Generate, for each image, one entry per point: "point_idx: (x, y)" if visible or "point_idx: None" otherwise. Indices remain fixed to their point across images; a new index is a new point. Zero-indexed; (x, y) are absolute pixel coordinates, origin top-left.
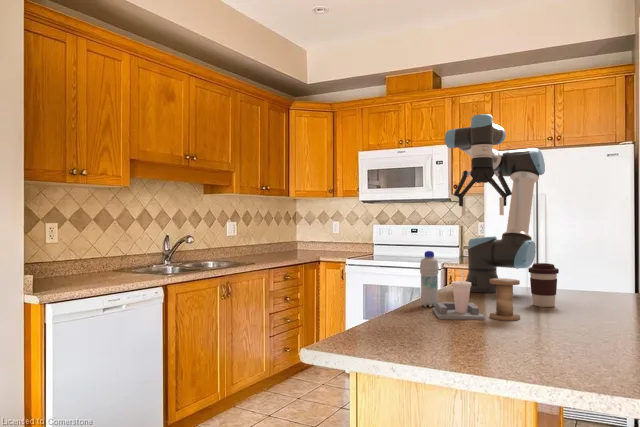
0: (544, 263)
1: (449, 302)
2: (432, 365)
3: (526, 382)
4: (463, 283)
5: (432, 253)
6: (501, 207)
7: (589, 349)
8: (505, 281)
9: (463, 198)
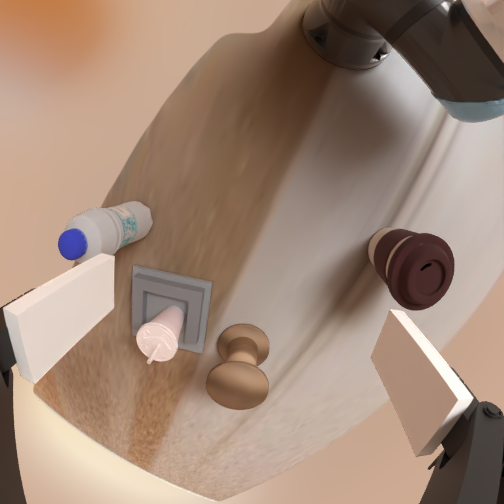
0: (443, 263)
1: (157, 283)
2: (116, 451)
3: (170, 482)
4: (157, 352)
5: (75, 259)
6: (389, 390)
7: (258, 460)
8: (230, 401)
9: (26, 373)
